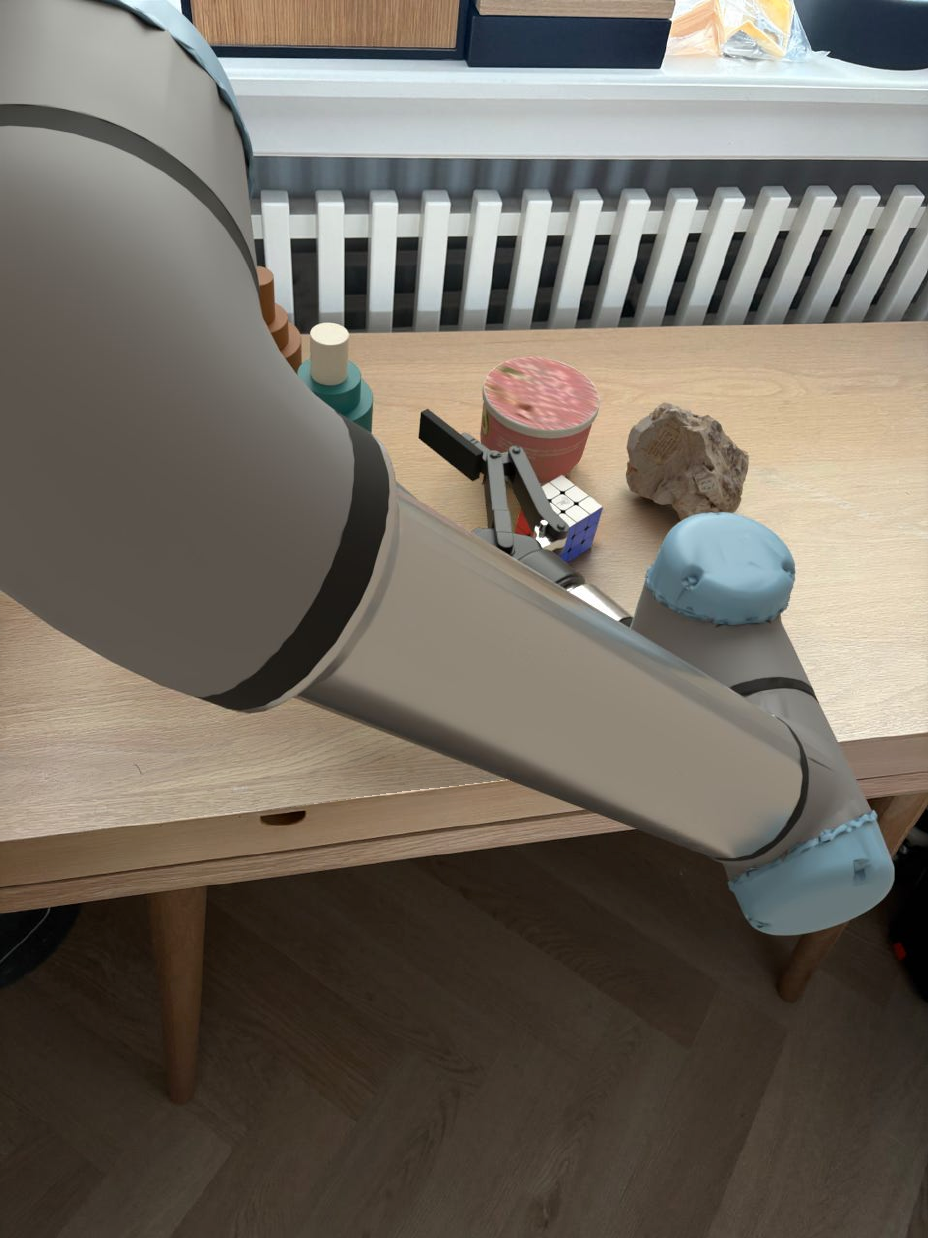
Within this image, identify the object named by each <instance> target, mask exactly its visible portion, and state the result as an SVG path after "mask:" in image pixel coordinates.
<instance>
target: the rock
mask: <svg viewBox="0 0 928 1238" xmlns="http://www.w3.org/2000/svg"><path fill="white" fill-rule="evenodd" d="M626 451H627V455H628V459H629V460H628V461H627V463H626V470H625V480H626V484H627V486H628V488H629V490H630V492H631V493H634V494H636V495H638V496H640V497H642V498H645V499H648V500H651V501H653V503H656V504H658V505H662V506H667V505H669V504H671V507H672V508H673V509H674V510H675V511H676V513H677V515H678V518H679V520H680V521H682V520H684V519H686V518H688V517H690V516H692V515H696V514H701V513H710V512H712V513H719V512H727V513H733V514H735V512H736V511H737V509H738V508H739V507H740V504H741V502H742V499H743V498H742V495H743V491H744V490H743V489H744V483H745V481H746V478H747V474H748V471H749V463H750V455H749V454H748V453H749V452H748V451H746V450H744V449H743V450H742V449H741V448H740V447H738V446H737V444H736V443H735V442H734V441H733V440H732V439H731V438H730V436H729V435H727V434H726V432H725V430H724V429H723V426H722V424H721V423H720V422H719V421H718V420H716V418H713V417H711V416H710V415H709V414H706V415H703V416H702V415H700V414H697V413H693V412H692V410H689V409H685V408H682V407H681V406H678V405H677V404H675V405H674V404H672V403H670V402H662V403H660V404H659V405H658V406H656V408H654V409H653V411H652V412H650V413H649V414H648V415H646V416H645V417H643V418H642V419H640V420H639V421H638V422H637V424H635V425H633V426H632V428H630V431H629V434H628V438H627V443H626Z"/></svg>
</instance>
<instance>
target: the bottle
mask: <svg viewBox="0 0 928 1238" xmlns="http://www.w3.org/2000/svg"><path fill="white" fill-rule="evenodd" d="M349 344H350V333H349V331H348V329H347V328H346V327H344V326H343V325H342V324H338V323H334V322H322V323H321V322H320V323H318V324H316V325H314V326H312V328H311V330H310V332H309V353H310V355H309V356H310V357H309V358H308V359H306V360H305V361H302V364H301V365H300V367H299V368H298V371H297V375H298V376H299V378H300V379H301V380H302V381H303V382H304V383H305V384H306V385H307V386H308V388H309V389H310V390H311V391H312V392H313V393H314V394H315V395H316V396H317V397H318V398H320V399H321V400H322V401H324V402H325V403H326V404H327V405H329V406H330V407H331V408H333V409H334V410H335V411H337V412H339V413H340V414H342V415H343V416H345V417H347V418H348V419H350V420H351V421H353V422H354V423H356V424H358V425H359V426H361V427H363V428H364V429H366V430H367V431H368V432H370V433H371V434H373V417H374V416H373V415H374V414H373V413H374V392H373V391H372V389H371V387H370V385H369V384H368V383H367V382H366V381H365V380H364V379H363V378H362V372H361V371H360V368H359V367H358V366H357V365H356V364H355V363H354V362H353V361H351V360H349V350H350V349H349V348H350V347H349Z"/></svg>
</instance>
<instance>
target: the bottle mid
mask: <svg viewBox="0 0 928 1238" xmlns="http://www.w3.org/2000/svg"><path fill="white" fill-rule="evenodd" d="M257 270H258V278H259V287H260V307H261V311H262V316H263V319H264V321H265V323H266V325H267V327H268V329H269V331H270V333H271V335H272V337H273V339H274V341H275V343H276V344H277V346H278V348H279V350H280V352H281V353H282V355H283V356H284V357H285V359H286V360H287V362H288V363H289V364H290V366H291V367H292V369H293V370H294V371H295V373H296V374H297V371H298V368H299V367H300V365H301V364H302V363H303V361H302V359H303V356H302V355H303V354H302V352H303V351H302V350H303V349H302V335H301V333H300V330H299V329H298V328H297V326H296V325H294V323H292V322H290V321H289V315H288V312H287V310H286V309H285V308H284V307H283V306H282V305H280V304H278V303H276V298H275V297H276V296H275V276H274V273H273V271H271V269H269V268H267V267H264V266H261V265H257Z"/></svg>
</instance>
